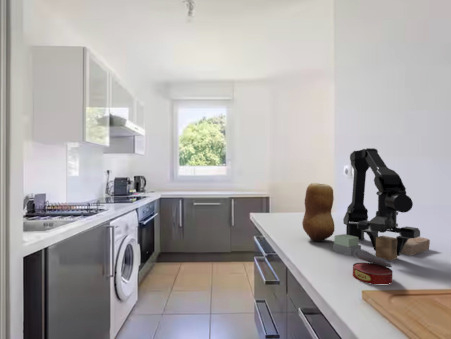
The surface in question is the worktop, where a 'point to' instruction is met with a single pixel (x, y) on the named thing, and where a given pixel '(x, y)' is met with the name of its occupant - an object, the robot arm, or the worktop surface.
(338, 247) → the base block
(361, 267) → the canned food
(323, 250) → the worktop surface
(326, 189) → the butternut squash
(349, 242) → the top block
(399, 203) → the robot arm
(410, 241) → the brick
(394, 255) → the tan rectangular prism
